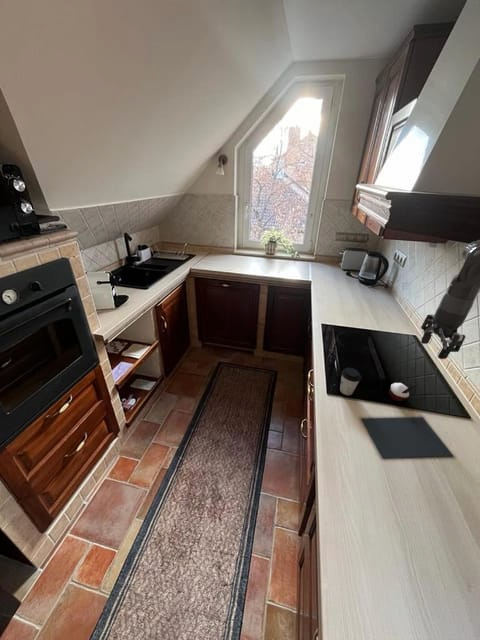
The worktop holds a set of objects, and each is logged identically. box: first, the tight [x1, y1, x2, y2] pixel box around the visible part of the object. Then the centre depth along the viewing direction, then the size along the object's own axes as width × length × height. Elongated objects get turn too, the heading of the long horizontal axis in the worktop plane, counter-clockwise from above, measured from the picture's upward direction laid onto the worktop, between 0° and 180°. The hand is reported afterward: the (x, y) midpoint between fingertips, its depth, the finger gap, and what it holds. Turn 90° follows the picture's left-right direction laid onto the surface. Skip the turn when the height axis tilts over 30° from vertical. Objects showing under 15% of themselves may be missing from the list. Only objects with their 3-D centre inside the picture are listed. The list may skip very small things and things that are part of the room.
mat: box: [361, 416, 454, 459], centre depth 82 cm, size 22×14×1 cm, turn 92°
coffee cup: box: [339, 367, 362, 396], centre depth 97 cm, size 7×7×10 cm
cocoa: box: [388, 382, 418, 403], centre depth 94 cm, size 10×6×12 cm, turn 155°
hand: (432, 350), depth 86 cm, fingers open, 8 cm apart
